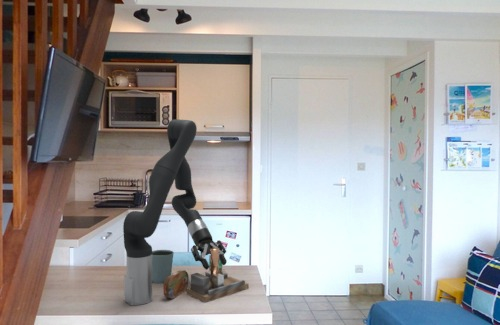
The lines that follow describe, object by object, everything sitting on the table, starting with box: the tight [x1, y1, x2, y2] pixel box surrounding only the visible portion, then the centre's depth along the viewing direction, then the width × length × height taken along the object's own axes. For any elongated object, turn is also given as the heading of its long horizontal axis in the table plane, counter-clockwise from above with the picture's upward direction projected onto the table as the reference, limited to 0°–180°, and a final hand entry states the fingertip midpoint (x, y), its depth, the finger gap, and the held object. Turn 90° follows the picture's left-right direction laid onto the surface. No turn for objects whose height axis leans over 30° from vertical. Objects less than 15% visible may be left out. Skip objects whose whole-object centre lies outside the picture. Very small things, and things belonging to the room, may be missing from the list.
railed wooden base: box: [186, 272, 250, 303], centre depth 153 cm, size 22×12×8 cm, turn 133°
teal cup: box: [152, 249, 174, 284], centre depth 166 cm, size 10×10×12 cm
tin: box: [162, 269, 190, 300], centre depth 150 cm, size 15×3×8 cm, turn 159°
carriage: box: [204, 248, 224, 288], centre depth 152 cm, size 3×8×15 cm, turn 43°
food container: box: [208, 253, 223, 275], centre depth 175 cm, size 12×6×10 cm, turn 179°
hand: (216, 266), depth 151 cm, fingers open, 8 cm apart
